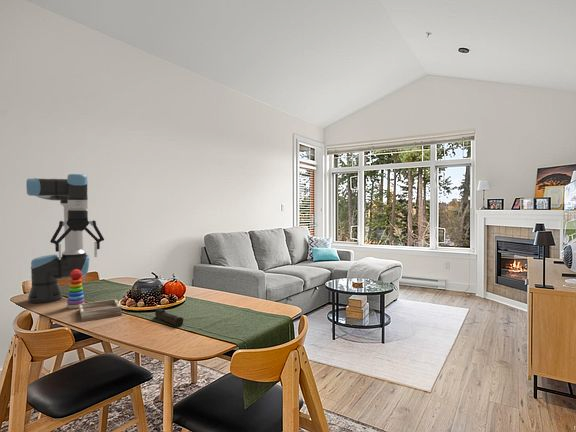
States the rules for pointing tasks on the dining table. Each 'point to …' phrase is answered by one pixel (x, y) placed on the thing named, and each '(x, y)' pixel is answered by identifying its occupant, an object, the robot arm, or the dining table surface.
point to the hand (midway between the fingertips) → (78, 258)
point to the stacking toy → (75, 290)
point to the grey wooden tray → (99, 310)
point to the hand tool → (168, 317)
